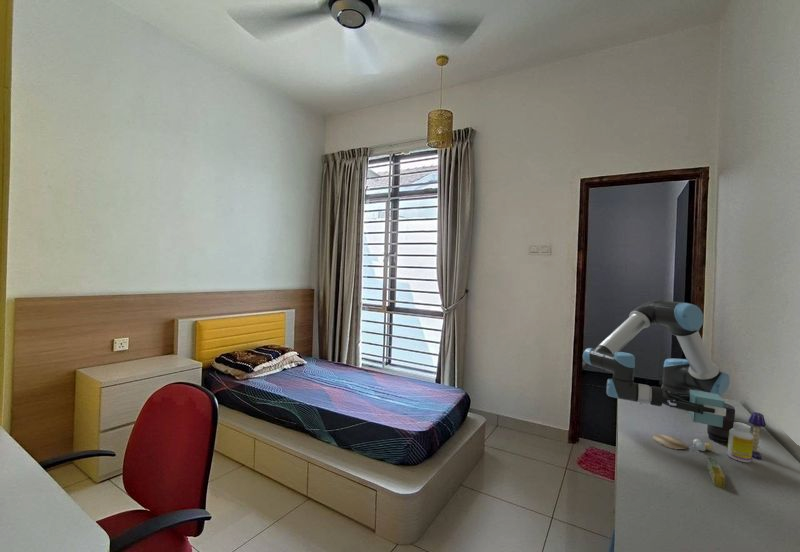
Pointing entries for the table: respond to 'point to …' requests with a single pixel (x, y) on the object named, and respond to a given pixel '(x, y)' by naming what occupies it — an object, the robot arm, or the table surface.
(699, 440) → the marble
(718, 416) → the teal cube
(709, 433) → the camera lens
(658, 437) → the coaster
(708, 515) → the table surface
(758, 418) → the toy lamp
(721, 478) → the medication box
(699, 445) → the marble
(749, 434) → the supplement bottle
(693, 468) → the table surface
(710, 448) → the marble
